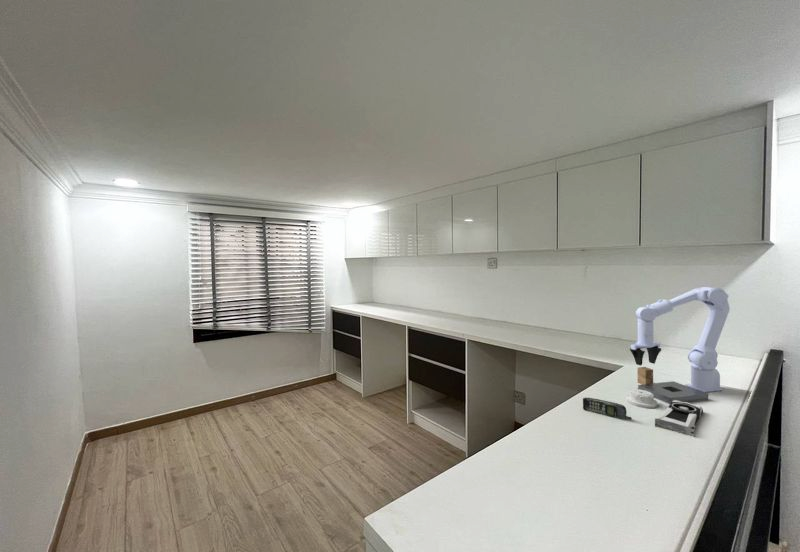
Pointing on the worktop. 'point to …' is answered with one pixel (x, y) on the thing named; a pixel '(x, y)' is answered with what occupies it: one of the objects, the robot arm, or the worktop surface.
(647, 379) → the walnut peg
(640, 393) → the mechanical component
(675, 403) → the graphics card
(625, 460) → the worktop surface
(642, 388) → the hole plate
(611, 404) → the mobile phone
